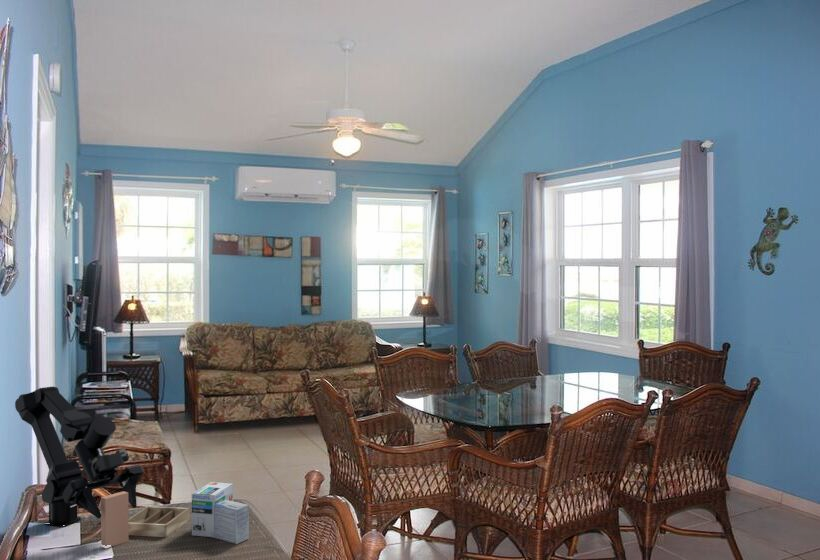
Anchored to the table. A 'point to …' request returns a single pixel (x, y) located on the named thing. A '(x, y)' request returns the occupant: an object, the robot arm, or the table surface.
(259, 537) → the table surface
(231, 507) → the medicine box
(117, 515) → the rectangular block
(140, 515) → the slot box
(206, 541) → the table surface
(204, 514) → the light bulb box
